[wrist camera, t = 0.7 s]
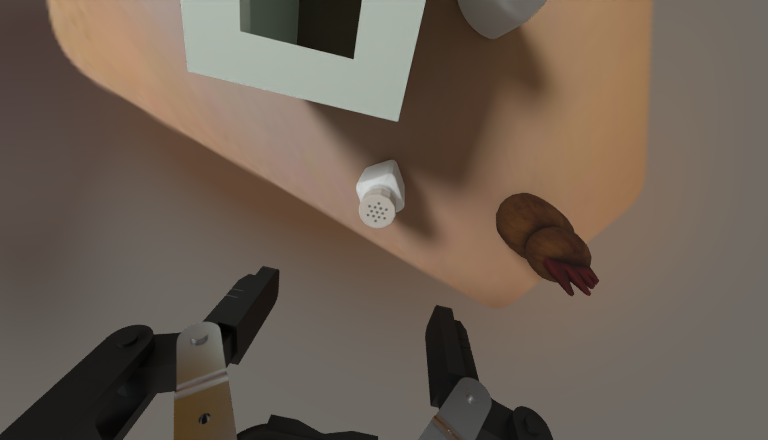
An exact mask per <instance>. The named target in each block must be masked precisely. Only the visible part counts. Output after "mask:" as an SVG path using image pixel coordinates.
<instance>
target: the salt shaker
mask: <svg viewBox="0 0 768 440" xmlns="http://www.w3.org/2000/svg"><path fill="white" fill-rule="evenodd" d="M356 190H357V193H358V196H359V199H360V201H361V204H360V206H359V214H360V218H361V219H362V220H363V222H364V223H365V224H366V225H368V226H370V227H373V228H384V227H386V226H387V225H389V224H391V223H392V221H393V219H394V218H395V216H396V212H399V211H401V210H402V209H403V208H404V205H405V185H404V182H403V179H402V176H401V173H400V170H399V167H398V164H397V162H396V161H395V160H388V161H385V162H382V163H379V164H376V165H373V166H370V167H367V168H366V169H365V170H364V171H363V173H362V175H361V177H360V179H359V181H358V183H357V187H356Z"/></svg>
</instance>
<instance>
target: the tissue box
mask: <svg viewBox="0 0 768 440" xmlns="http://www.w3.org/2000/svg"><path fill="white" fill-rule="evenodd" d="M425 2H426V0H362V4H361V11H360V18H359V25H358V32H357V39H356V46H355V53H354V59H350V58H346V57H342V56H338V55H334V54H330V53H326V52H322V51H318V50H314V49H310V48H306V47H302V46H298V45H297V32H298V15H299V0H181V10H182V20H183V30H184V40H185V50H186V59H187V69H188V71H189V72H193V73H197V74H201V75H206V76H210V77H214V78H218V79H222V80H226V81H230V82H235V83H239V84H243V85H247V86H251V87H255V88H259V89H264V90H268V91H272V92H276V93H280V94H284V95H288V96H292V97H297V98H301V99H305V100H309V101H313V102H317V103H321V104H326V105H330V106H334V107H338V108H342V109H346V110H350V111H355V112H359V113H363V114H367V115H371V116H375V117H379V118H384V119H388V120H392V121H396V122H398V119H399V115H400V111H401V106H402V102H403V98H404V93H405V89H406V85H407V80H408V76H409V72H410V67H411V63H412V59H413V54H414V50H415V45H416V41H417V37H418V32H419V28H420V24H421V19H422V15H423V11H424V6H425Z"/></svg>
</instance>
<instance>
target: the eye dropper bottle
mask: <svg viewBox="0 0 768 440" xmlns="http://www.w3.org/2000/svg"><path fill="white" fill-rule="evenodd" d="M457 1H458V4H459V7H460V10H461V12H462V14H463V16H464V18H465V19H466V21H467V22H468V23H469V25H470V26H471V27H472V28H473V29H474V30H475V31H477V32H478V33H479V34H481V35H482V36H484V37H486V38H489V39H496V38H498V37H500V36H502V35H504V34H506V33H508V32H510V31H512V30H513V29H515V28H517V27H519V26H520V25H522V24H524V23H525V22H527V21H528V20H529V19H530V18H531V17H532V16H533V15H534V14H535V13H536V12H537V11H538V10H539V9H540V8H541V7H542V6H543V5H544V4H545V2H546V0H457Z"/></svg>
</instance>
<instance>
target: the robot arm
mask: <svg viewBox="0 0 768 440" xmlns="http://www.w3.org/2000/svg"><path fill="white" fill-rule="evenodd" d="M278 289H279V270H278V269H274V268H270V267H265V266H263V267H262V268H261V269H260V270H259V271H258V273H257V274H256V275H251V274H248V275H247V276H245V277H243V278H242V279H240V280H238V282H237V283H236V284H235V285H234V286H233V288H232V289H231V290H230V291H229V292H228V293H227V295H226V296H225V297H224V298H223V299H222V300H221V301H220V302H219V304H218V305H217V306H216V307H215V308H214V309H213V310H212V312H211V313H210V314H209V315H208V316H207V317H206V319H205V320H204V321H203V322H200V323H196V324H194V325H191V326H189V327H187V328H186V329H185V330H183V331H182V332H180V333H172V334H156V335H154V334H153V331H152V329H151V328H150V327H148V326H145V325H132V326H128V327H125V328H122V329H120V330H118V331H116V332H114V333H113V334H111V335H110V336H108V337H107V338H106V339H105V340H104V341H103V342H102V343H101V344H99V345H98V346H97V347H96V348H95V349H94V350H93V351H92V352H91V353H90V354H88V355H87V356H86V357H85V358H84V359H83V360H82V361H81V362H80V363H78V364H77V365H76V366H75V367H74V368H73V369H72V370H71V371H70V372H69V373H68V374H66V375H65V376H64V377H63V378H62V379H61V380H60V381H59V382H57V384H55V385H54V386H53V387H52V388H51V389H50V390H49V391H48V392H46V393H45V394H44V395H43V396H42V397H41V398H40V399H39V400H38V401H36V402H35V403H34V404H33V405H32V406H31V407H30V408H29V409H28V410H27V411H25V412H24V414H22V415H21V416H20V417H19V418H18V419H17V420H16V421H15V422H14V423H12V424H11V425H10V426H9V427H8V428H7V429H6V430H5V431H3V432H2V433H1V434H0V440H123V438H124V437H125V436H126V435H127V433H128V432H129V430H130V429H131V428H132V426H133V425H134V424H135V422H136V421H137V420H138V418H139V417H140V416H141V414H142V413H143V411H144V410H145V409H146V408H147V406H148V405H149V404H150V402H151V401H152V400H153V398H154V397H155V395H156V394H157V393H163V392H172V391H175V393H174V440H378V436H374V435H369V434H364V433H360V432H355V431H348V432H337V433H329V434H323V433H320V432H318V431H317V430H315V429H313V428H311V427H310V426H308V425H306V424H304V423H302V422H301V421H299V420H295V419H291V418H285V417H281V416H276V415H271V417H270V419H269V421H268V423H267V424H260V425H257V426H253V427H250V428H248V429H246V430H244V431H242V432H240V433H238V434H237V435H236V428H235V422H234V415H233V408H232V401H231V394H230V387H229V381H228V374H227V372H226V368H227V366H228V365H229V363H232V364H237V365H238V364H239V363H240V361H241V359H242V358H243V356H244V354H245V353H246V351H247V349H248V348H249V346H250V344H251V343H252V341H253V339H254V338H255V336H256V334H257V333H258V331H259V329H260V328H261V326H262V324H263V323H264V321H265V320H266V318H267V316H268V315H269V313H270V311H271V310H272V308H273V306H274V305H275V302H276V300H277V297H278ZM425 341H426V353H427V365H428V377H429V391H430V404H431V406H433V407H438V408H439V412H438V413H437V414H436V416H434V417H433V419H432V420H431V421H430V423H429V424H428V426H427V427H426V429H425V430H424V432H423V433H422V435H421V436H420V438H419V439H418V440H553V438H552V435H551V432H550V430H549V428H548V426H547V424H546V423H545V421H544V420H543V419H542V418H541V417H540V416H539V415H538V414H537V413H536V412H535V411H533V410H532V409H529V408H527V407H523V406H520V407H517V408H516V409H515V410H514V411H512V410H510V409H509V408H507V407H505V406H503V405H501V404H499V403H498V402H496V401H494V400H493V399H492V398H491V397H490V394H489V392H488V391H487V389H486V388H485V387H484V386H483V385H482V384H481V383H480V382H479V379H478V375H477V371H476V367H475V363H474V359H473V355H472V351H471V347H470V343H469V339H468V335H467V331H466V329H465V328H464V326H463V325H462V323H461V322H460V321H457V320H454V316H453V312H452V309H451V308H447V307H443V306H438V305H436V307H435V308H434V311H433V313H432V315H431V318H430V320H429V323H428V325H427V329H426V335H425Z"/></svg>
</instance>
